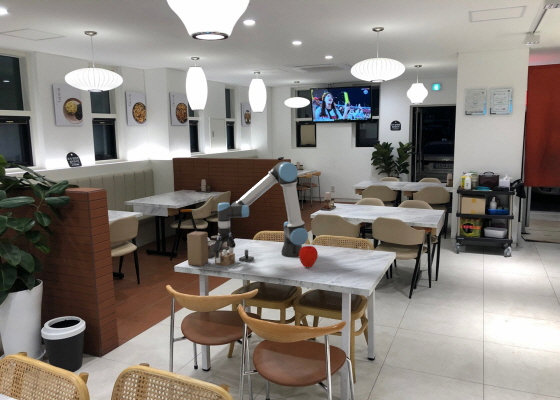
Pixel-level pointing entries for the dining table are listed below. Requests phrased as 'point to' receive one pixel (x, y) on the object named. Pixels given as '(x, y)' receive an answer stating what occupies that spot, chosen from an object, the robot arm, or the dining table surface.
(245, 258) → the stand
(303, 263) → the apple
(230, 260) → the collar
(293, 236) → the robot arm
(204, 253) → the wooden block
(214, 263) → the hub
